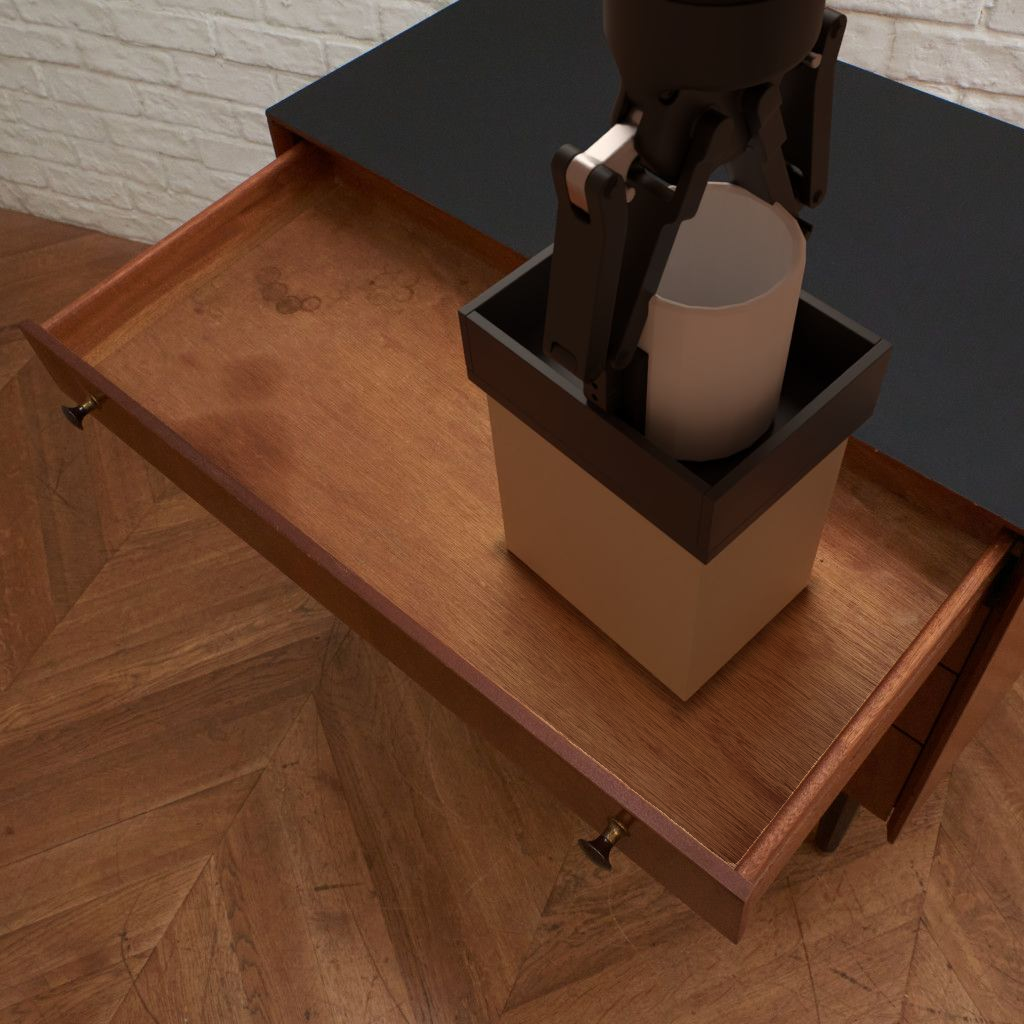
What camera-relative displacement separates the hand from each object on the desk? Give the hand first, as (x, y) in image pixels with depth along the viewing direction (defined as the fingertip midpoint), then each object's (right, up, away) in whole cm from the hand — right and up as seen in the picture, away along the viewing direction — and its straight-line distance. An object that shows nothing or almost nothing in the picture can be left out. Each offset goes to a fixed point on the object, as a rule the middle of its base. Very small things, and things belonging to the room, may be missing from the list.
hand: (681, 385), depth 56 cm
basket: (-1, 0, +2) cm, 2 cm away
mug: (-1, 0, +1) cm, 1 cm away
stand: (0, -9, +15) cm, 18 cm away
